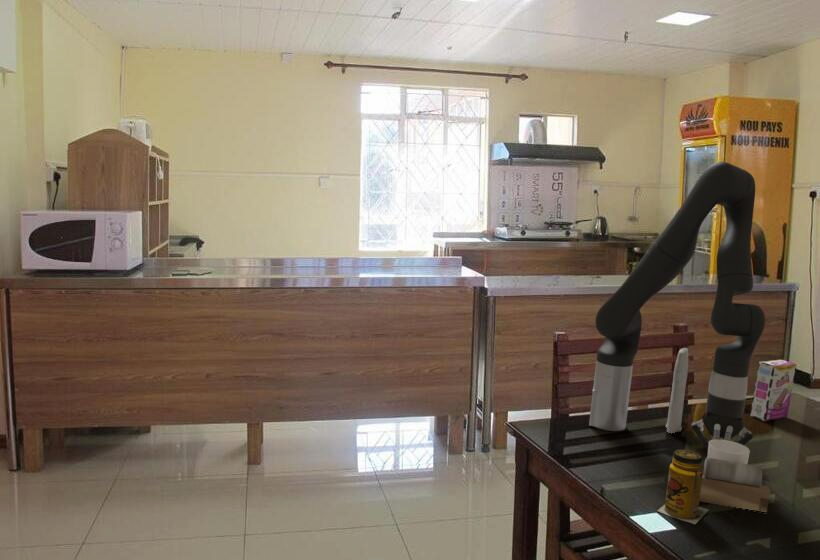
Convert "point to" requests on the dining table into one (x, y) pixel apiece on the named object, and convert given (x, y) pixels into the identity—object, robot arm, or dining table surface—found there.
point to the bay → (734, 485)
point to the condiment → (684, 487)
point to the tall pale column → (678, 392)
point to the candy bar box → (773, 390)
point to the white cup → (728, 451)
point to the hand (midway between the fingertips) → (716, 467)
